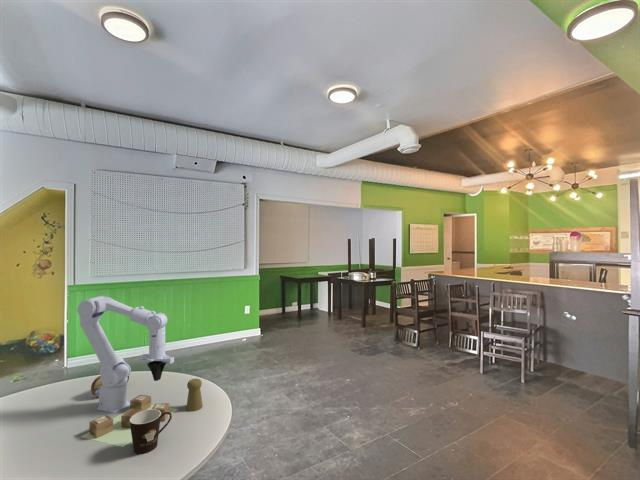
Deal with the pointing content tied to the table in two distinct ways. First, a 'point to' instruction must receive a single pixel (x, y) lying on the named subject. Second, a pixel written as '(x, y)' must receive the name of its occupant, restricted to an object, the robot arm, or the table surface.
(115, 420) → the mat
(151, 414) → the coffee mug
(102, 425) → the tile block
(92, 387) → the tin
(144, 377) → the table surface
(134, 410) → the plain block
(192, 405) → the cork
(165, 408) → the tile block
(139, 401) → the tile block
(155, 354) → the robot arm
